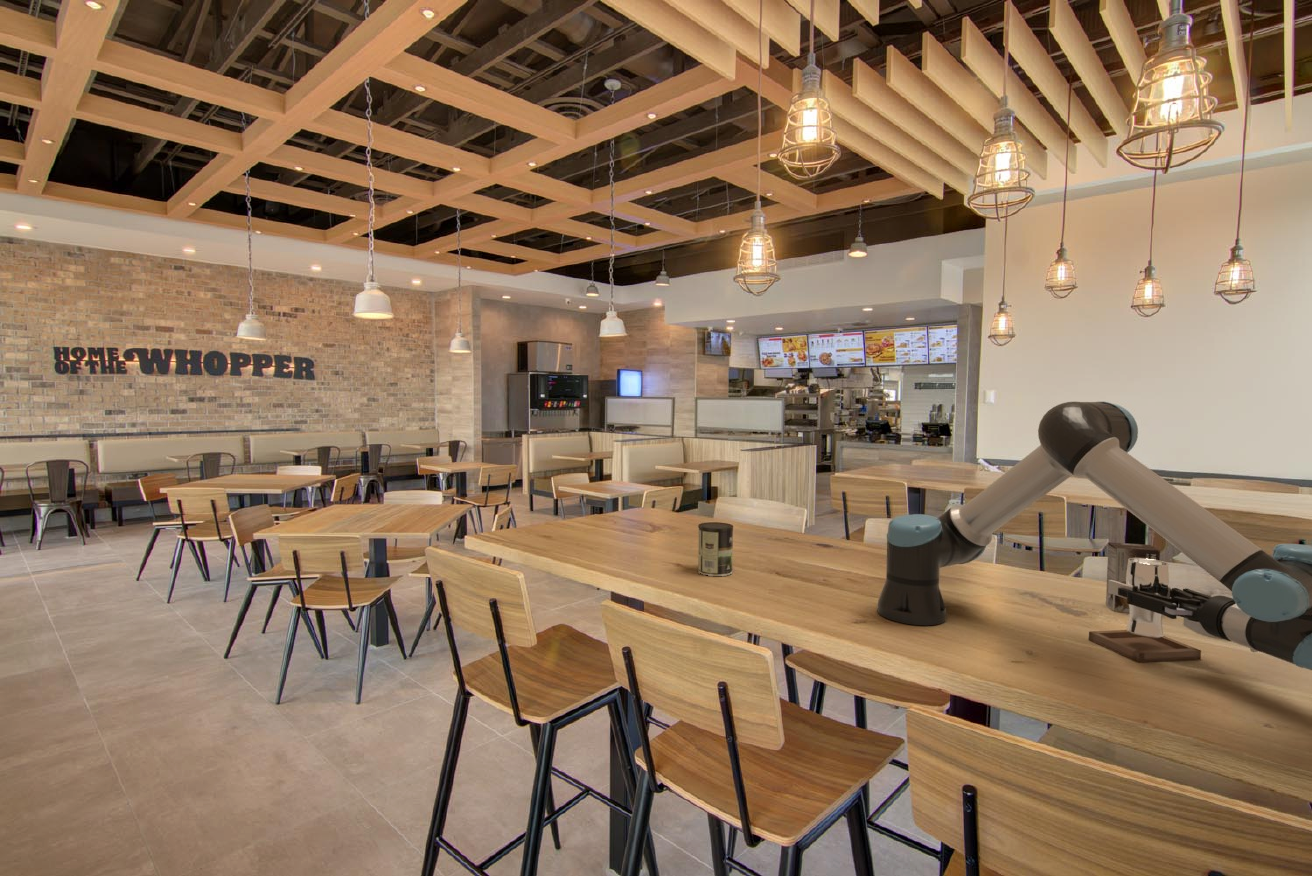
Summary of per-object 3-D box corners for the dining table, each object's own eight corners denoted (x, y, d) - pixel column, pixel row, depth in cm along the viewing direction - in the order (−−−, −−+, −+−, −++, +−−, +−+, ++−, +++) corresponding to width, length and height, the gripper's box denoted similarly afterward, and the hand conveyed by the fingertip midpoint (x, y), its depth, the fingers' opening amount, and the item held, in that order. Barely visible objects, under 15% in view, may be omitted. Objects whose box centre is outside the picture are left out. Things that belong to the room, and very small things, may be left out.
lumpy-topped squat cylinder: (1202, 637, 139) (1204, 598, 138) (1172, 617, 151) (1174, 582, 151) (1260, 642, 136) (1262, 602, 135) (1224, 622, 148) (1227, 586, 148)
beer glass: (1151, 627, 134) (1154, 557, 133) (1174, 639, 127) (1178, 565, 126) (1116, 626, 134) (1119, 556, 134) (1137, 638, 127) (1141, 564, 127)
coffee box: (1147, 608, 158) (1150, 544, 157) (1158, 616, 152) (1161, 549, 151) (1104, 603, 161) (1107, 541, 160) (1113, 611, 155) (1116, 546, 154)
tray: (1138, 662, 124) (1138, 653, 124) (1088, 639, 136) (1089, 631, 136) (1200, 659, 126) (1201, 650, 126) (1146, 637, 138) (1146, 628, 138)
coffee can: (730, 567, 192) (731, 522, 191) (734, 577, 182) (735, 528, 181) (696, 567, 192) (697, 521, 191) (698, 576, 182) (699, 528, 181)
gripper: (1188, 644, 111) (1083, 604, 134) (1283, 640, 114) (1164, 601, 137) (1190, 602, 111) (1084, 569, 134) (1285, 599, 114) (1166, 566, 136)
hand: (1125, 585), depth 135 cm, fingers closed on beer glass, 7 cm apart
